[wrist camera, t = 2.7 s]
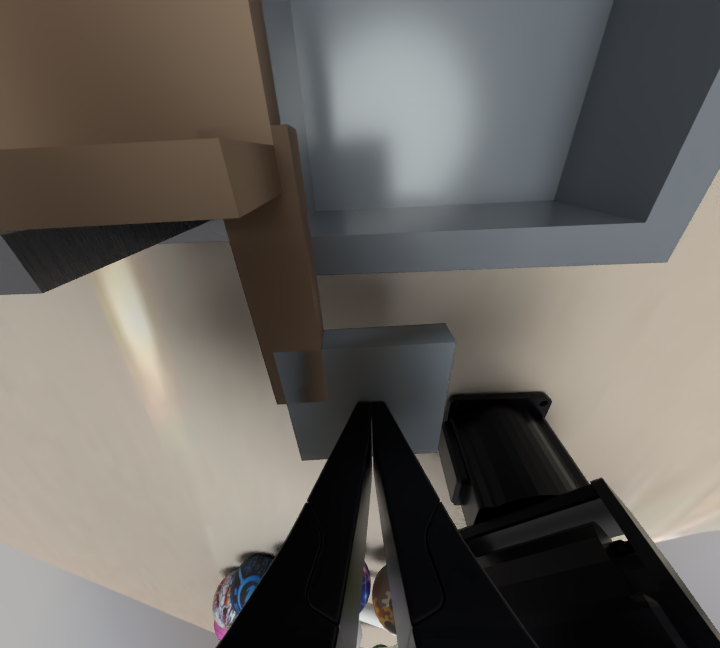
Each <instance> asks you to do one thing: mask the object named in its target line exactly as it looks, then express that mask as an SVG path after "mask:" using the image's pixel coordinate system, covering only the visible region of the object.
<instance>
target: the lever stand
mask: <svg viewBox="0 0 720 648" xmlns="http://www.w3.org/2000/svg"><path fill="white" fill-rule="evenodd" d="M216 241H229V238H228V235H227V231H226V228H225V225H224V221H223V219H212V220H194V221H176V222H157V223H139V224H120V225H102V226H84V227H65V228H47V229H28V230H10V231H0V295H10V294H37V293H44V292H47V291H49V290H51V289H54V288H56V287H58V286H61V285H63V284H65V283H68V282H70V281H72V280H75V279H77V278H79V277H82V276H84V275H86V274H88V273H91V272H93V271H95V270H98V269H100V268H102V267H105V266H107V265H109V264H112V263H114V262H116V261H119V260H121V259H123V258H126V257H128V256H130V255H133V254H135V253H137V252H139V251H142V250H144V249H146V248H149V247H151V246H153V245H156V244H169V243H192V242H216Z"/></svg>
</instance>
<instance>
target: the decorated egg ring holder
mask: <svg viewBox="0 0 720 648" xmlns="http://www.w3.org/2000/svg"><path fill="white" fill-rule="evenodd" d="M273 560H274V559H273V558H271V557H270V556H267V555H254V556H252V557H250V558H248V559H247V560H246V561H244V562H243V563H242V565H241V566H240V567H239V568H238V569H237V570H234V571H232V572H231V573H229V574H228V575H227V576H226V577H225V578H224V579H223V580H222V582H221V583H220V584H219V586H218V588H217V590H216V593H215V595H214V599H213V608H212V610H213V616H214V629H215V633H216V635H217V637H218V639H219V640H220V641H221V639H222V638H223V637H224V635H225V634H226V632H227V631H228V629H229V628H230V626H231V625H232V623H233V622H234V620H235V619H236V617H237V616H238V614H239V612H240V611H241V609H242V608H243V606H244V605H245V603H246V602H247V600H248V598H249V597H250V595H251V594H252V592H253V591H254V589H255V588H256V586H257V585H258V583H259V581H260V580H261V578H262V577H263V575H264V574H265V572H266V571H267V569H268V567H269V566H270V564H271V563H272V561H273ZM370 588H371V580H370V573H369V570H368V567H367V565H366V563H365V561H364V569H363V580H362V591H361V602H360V613H359V624H358V635H357V646H356V648H363V647H359V646H360V642H361V639H362V629H361V622H360V621H363V622H366V623H368V624H371V625H374V626H377V627H380V628H382V629H385V630H386V631H388V632H390V633H391V634H393V635H395V636H396V637H397V635H396V627H395V620H394V613H393V606H392V599H391V592H390V585H389V578H388V571H387V565H385V566H384V567H383V568H382V569H381V570H380V571H379V572H378V574H377V576H376V578H375V581H374V584H373V590H372V600H373V604H371V603H368V602H367V601H368V598H369V595H370ZM373 648H398V644H396V645H394V646H391V647H387V646H385V645H382V644H380V645H376V646H374V647H373Z"/></svg>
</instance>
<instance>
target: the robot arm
mask: <svg viewBox="0 0 720 648" xmlns="http://www.w3.org/2000/svg"><path fill="white" fill-rule="evenodd" d="M551 403H552V401H551V399H550V398H549V396H548V395H547V394H543V393H540V394H492V395H455V396H452V397H451V398H449V400H448V405H447V411H446V417H445V421H443V422H442V427H441V433H440V438H439V444H438V451H439V455H440V459H441V463H442V467H443V471H444V475H445V479H446V483H447V487H448V491H449V495H450V499H451V502H452V503H453V504H454V505H461V507H462V510H463V514H464V518H465V521H466V525H467V527H464V528H461V529H459V530H458V529H457V528H456V526H455V524H454V523H453V521H452V519H451V518H450V516H449V514H448V513H447V511H446V509H445V507H444V505H443V504H442V502H440V499H439V497H438V495H437V493H436V492H435V490H434V488H433V486H432V484H431V483H430V481H429V479H428V477H427V476H426V474H425V472H424V470H423V468H422V467H421V465H420V463H419V461H418V460H417V458H416V456H415V454H414V453H413V451H412V449H411V447H410V445H409V444H408V442H407V440H406V438H405V437H404V435H403V433H402V431H401V429H400V428H399V426H398V424H397V422H396V421H395V419H394V417H393V415H392V413H391V412H390V410H389V408H388V406H387V405H386V403H385V402H384V401H373V402H372V438H373V467H374V479H375V486H376V493H377V500H378V507H379V514H380V522H381V529H382V536H383V543H384V550H385V557H386V564H387V571H388V578H389V585H390V592H391V599H392V606H393V613H394V620H395V627H396V635H397V642H398V648H720V633H719V632H718V631H717V629H716V628H715V626H714V625H713V623H712V622H711V621H710V619H709V618H708V616H707V615H706V614H705V612H704V611H703V609H702V608H701V607H700V605H699V604H698V602H697V601H696V600H695V598H694V597H693V595H692V594H691V593H690V591H689V590H688V588H687V587H686V585H685V584H684V583H683V581H682V580H681V578H680V577H679V576H678V574H677V573H676V572H675V570H674V569H673V567H672V566H671V565H670V563H669V562H668V561H667V559H666V558H665V557H664V555H663V554H662V553H661V551H660V550H659V549H658V547H657V546H656V545H655V543H654V542H653V541H652V539H651V538H650V537H649V535H648V534H647V533H646V531H645V530H644V529H643V527H642V526H641V525H640V523H639V522H638V521H637V519H636V518H635V517H634V515H633V514H632V513H631V512H630V511H629V509H628V508H627V507H626V506H625V505H624V503H623V502H622V501H621V500H620V499H619V497H618V496H617V495H616V494H615V493H614V491H613V490H612V489H611V488H610V487H609V485H608V484H607V483H606V482H605V481H604V479H603V478H599V479H596V480H593V481H590V482H591V484H589V482H588V481H587V480H586V478H585V477H584V475H583V474H582V472H581V471H580V469H579V468H578V466H577V465H576V463H575V462H574V460H573V459H572V458H571V456H570V455H569V453H568V452H567V450H566V449H565V447H564V446H563V444H562V443H561V441H560V440H559V438H558V437H557V436H556V434H555V433H554V431H553V430H552V428H551V427H550V425H549V424H548V422H547V421H546V419H545V416H546V414H547V412H548V410H549V408H550V405H551ZM371 481H372V440H371V406H370V402H369V401H359V402H357V404H356V405H355V407H354V409H353V411H352V413H351V415H350V417H349V419H348V421H347V423H346V425H345V427H344V429H343V431H342V433H341V435H340V437H339V439H338V441H337V442H336V444H335V446H334V448H333V450H332V452H331V454H330V456H329V458H328V460H327V462H326V464H325V466H324V468H323V470H322V472H321V474H320V476H319V478H318V480H317V482H316V483H315V485H314V487H313V489H312V491H311V493H310V495H309V497H308V499H307V502H308V503H305V505H304V507H303V509H302V510H301V512H300V514H299V516H298V518H297V520H296V522H295V524H294V526H293V527H292V529H291V531H290V533H289V535H288V536H287V538H286V540H285V542H284V543H283V545H282V547H281V548H280V550H279V551H278V553H277V555H276V556H275V558H274V560H273V561H272V563H271V564H270V566H269V567H268V569H267V571H266V572H265V574H264V575H263V577H262V578H261V580H260V581H259V583H258V585H257V586H256V588H255V589H254V591H253V592H252V594H251V595H250V597H249V598H248V600H247V602H246V603H245V605H244V606H243V608H242V609H241V611H240V612H239V614H238V616H237V617H236V619H235V620H234V622H233V623H232V625H231V626H230V628H229V629H228V631H227V632H226V634H225V635H224V637H223V638H222V639H221V641H220V642H219V644H218V645H217V647H216V648H356V646H357V635H358V624H359V613H360V602H361V591H362V580H363V569H364V558H365V547H366V536H367V525H368V514H369V503H370V492H371ZM623 534H624V535H625V536H626V538H627V539H628V541H625V542H624V541H622V540H617V541H612V540H611V539H610V538H612V537H616V536H620V535H623Z"/></svg>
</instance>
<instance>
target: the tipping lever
mask: <svg viewBox="0 0 720 648" xmlns="http://www.w3.org/2000/svg"><path fill="white" fill-rule="evenodd" d="M212 219H223V221H224V225H225V228H226V231H227V235H228V238H229V242H230V245H231V248H232V252H233V255H234V259H235V262H236V266H237V269H238V272H239V276H240V279H241V283H242V286H243V289H244V293H245V296H246V300H247V303H248V307H249V310H250V313H251V317H252V320H253V324H254V327H255V330H256V334H257V337H258V341H259V344H260V348H261V351H262V354H263V358H264V361H265V365H266V368H267V371H268V375H269V378H270V382H271V385H272V389H273V392H274V395H275V399H276V402H277V404H287V407H288V410H289V414H290V418H291V422H292V425H293V429H294V433H295V437H296V440H297V444H298V448H299V452H300V455H301V459H302V461H304V460H320V459H328V458H329V456H330V454H331V452H332V450H333V448H334V446H335V444H336V442H337V441H338V439H339V437H340V435H341V433H342V431H343V429H344V427H345V425H346V423H347V421H348V419H349V417H350V415H351V413H352V411H353V409H354V407H355V405H356V404H357V402H359V401H369V402H370V406H371V440H372V456H373V438H372V402H373V401H384V402H385V403H386V405H387V406H388V408H389V410H390V412H391V413H392V415H393V417H394V419H395V421H396V422H397V424H398V426H399V428H400V429H401V431H402V433H403V435H404V437H405V438H406V440H407V442H408V444H409V445H410V447H411V449H412V451H413V453H414V454H420V453H437V450H438V444H439V438H440V433H441V427H442V421H443V415H444V409H445V403H446V397H447V391H448V385H449V380H450V374H451V368H452V362H453V356H454V350H455V344H456V342H455V340H454V338H453V336H452V335H451V333H450V331H449V329H448V328H447V326H446V324H445V323H439V324H422V325H404V326H387V327H369V328H352V329H334V330H324V329H323V321H322V314H321V307H320V300H319V292H318V285H317V278H316V270H315V263H314V256H313V248H312V241H311V234H310V226H309V219H308V212H307V204H306V197H305V190H304V182H303V175H302V168H301V161H300V153H299V146H298V139H297V131H296V129H295V128H293V127H291V126H289V125H287V124H283V125H281V122H280V115H279V109H278V103H277V97H276V90H275V84H274V78H273V71H272V65H271V59H270V53H269V46H268V40H267V34H266V28H265V21H264V15H263V9H262V2H261V0H0V231H10V230H28V229H47V228H65V227H84V226H102V225H120V224H139V223H157V222H176V221H194V220H212Z"/></svg>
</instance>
